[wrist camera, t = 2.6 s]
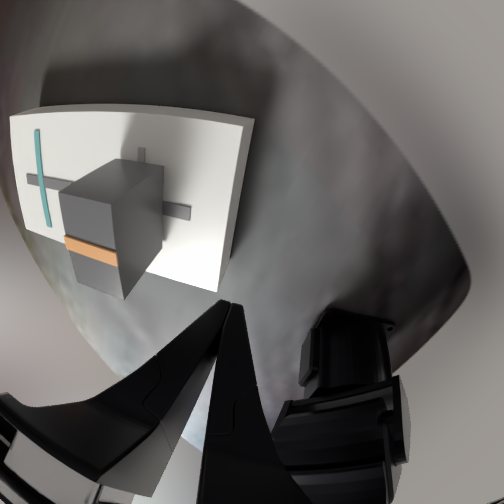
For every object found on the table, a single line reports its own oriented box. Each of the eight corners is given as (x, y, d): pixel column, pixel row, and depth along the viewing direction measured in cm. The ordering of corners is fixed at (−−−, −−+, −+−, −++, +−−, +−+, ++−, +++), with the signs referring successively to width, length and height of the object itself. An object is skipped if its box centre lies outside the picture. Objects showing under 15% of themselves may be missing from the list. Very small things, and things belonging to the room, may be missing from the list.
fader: (165, 165, 13) (110, 206, 9) (163, 248, 16) (124, 302, 12) (115, 158, 13) (55, 193, 9) (119, 236, 16) (75, 282, 12)
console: (254, 118, 14) (242, 126, 11) (228, 263, 20) (216, 293, 17) (37, 107, 15) (8, 116, 12) (47, 212, 20) (25, 229, 18)
